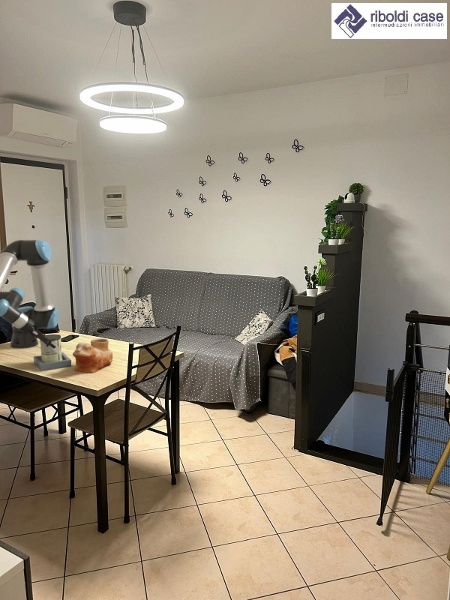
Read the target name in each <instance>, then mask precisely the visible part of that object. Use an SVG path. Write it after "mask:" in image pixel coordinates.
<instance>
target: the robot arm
mask: <svg viewBox="0 0 450 600" xmlns="http://www.w3.org/2000/svg"><path fill="white" fill-rule="evenodd" d="M51 259H52V250H51V245H49V242H47V241H46V240H42V239H23V240H22V239H19V240H14V241H12V242H11V243H9V244H8V245H6V246H5V247H4V248H3V249H2V250H1V252H0V317H1V318H3V319H4V320H5V321H6V322H8V323H9V324H11V327H12V336H11V341H10V347H11V348H14V349H25V348H26V349H27V348H31V347H35V346H37V345H39V342H38V341H39V340H41V341H42V342H44V343H45V344H46V345H47V347H48V346H49V347H50V348H51V349H53V350H54V351H55V352H57V353H59V351H60V350H61V349H62V347H61V348H59V347H58V346H57V345H55V344H54V343H53V342H51V341H50V340H48V339H47V338H46V337H45V336H44V335H46V333H42V332H41V331H40V330H39V329H47V330H48V329H55V328H56V327H57V325H58V323H59V319H60V310H59V309H57V308H56V306H55V304H53V303H52V298H51V290H50V283H49V275H48V268H47V265H48V264H49V263H50V262H49V261H51ZM21 261H22V262H25V261H26V265H27V266H28V267H29V268H30V272H31V273H30V274H31V279H32V285H33V287H32V288H33V294H34V299H35V306H34V307H33V306H29V305H28V306H23V307H20V306H21V304H22V303H23V301H24V298H25V292H24V290H23V289H21V288H19V287H13V288H11V289H10V290H9V291H3V289H4V287H5V284H6V283H7V280H8V278H9V277H10V274H11V272H12V270H13V269H14V266H16V265H17V264H18V262H21ZM38 339H39V340H38ZM48 341H49V342H48ZM47 342H48V343H47Z"/></svg>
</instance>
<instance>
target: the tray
mask: <svg viewBox="0 0 450 600" xmlns="http://www.w3.org/2000/svg"><path fill="white" fill-rule="evenodd" d="M33 363H34V364H35V366H36V367H37V369H38V370H39V371H40V372H46V371H52V370H58V369H64V368H70V367H72V359H70V357H68V356H67V355H66V354H65V353H64V352H63V351H62V361H56V362H50V363H42V357H41V354H39V355H34V356H33Z"/></svg>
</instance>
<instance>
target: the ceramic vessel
mask: <svg viewBox="0 0 450 600" xmlns="http://www.w3.org/2000/svg"><path fill="white" fill-rule="evenodd" d="M113 355H114V354H113V351H112V350H111V349H110V348H109V339H108V338H96V339H95V338H94V339H91V340H90V343H86V342H78V343H77V344H76V346H75V350H74V351H73V352H72V356H73V357H74V359H75V367H74V371H75V372H79V373H84V374H85V373H86V374H95V373H97V372H99V371H101V370H102V369H104V368H107V367H110V366H111V364H112V362H113Z"/></svg>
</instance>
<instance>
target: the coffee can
mask: <svg viewBox="0 0 450 600" xmlns="http://www.w3.org/2000/svg"><path fill="white" fill-rule="evenodd" d="M44 336H45V337H46V338H47V339H48V340H50V341H51V342H53V343H54V344H55V345H57V346H58V347H59V348H61V350H60V351H59V353H57V352H55V351H54V350H53V349H51V348H50V347H49V346H48V347H47V345H46V344H45V343H44V342H42V341H41V340H40V339H39V340H40V352H41V353H40V355H41V357H42V363H50V362H56V361H62V352H63V350H62V335H60V334H54V333H53V334H45V335H44ZM48 342H49V341H48ZM48 342H47V343H48Z"/></svg>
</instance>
